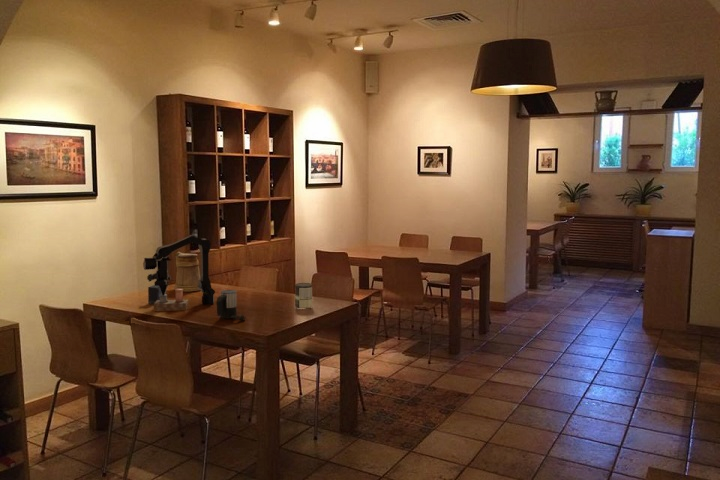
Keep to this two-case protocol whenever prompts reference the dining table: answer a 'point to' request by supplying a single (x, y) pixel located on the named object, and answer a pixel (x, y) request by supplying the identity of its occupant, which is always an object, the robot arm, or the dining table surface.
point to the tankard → (187, 272)
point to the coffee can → (303, 295)
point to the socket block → (170, 305)
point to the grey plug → (163, 298)
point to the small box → (153, 294)
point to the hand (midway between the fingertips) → (163, 294)
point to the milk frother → (227, 305)
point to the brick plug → (179, 295)
